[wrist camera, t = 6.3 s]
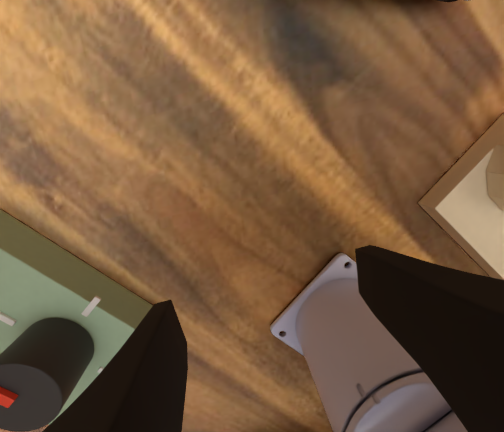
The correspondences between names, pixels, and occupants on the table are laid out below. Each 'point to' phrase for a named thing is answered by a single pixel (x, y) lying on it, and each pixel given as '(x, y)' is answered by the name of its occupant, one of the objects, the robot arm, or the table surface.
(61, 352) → the knob
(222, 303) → the table surface
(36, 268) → the panel
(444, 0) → the dixie cup
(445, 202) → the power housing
